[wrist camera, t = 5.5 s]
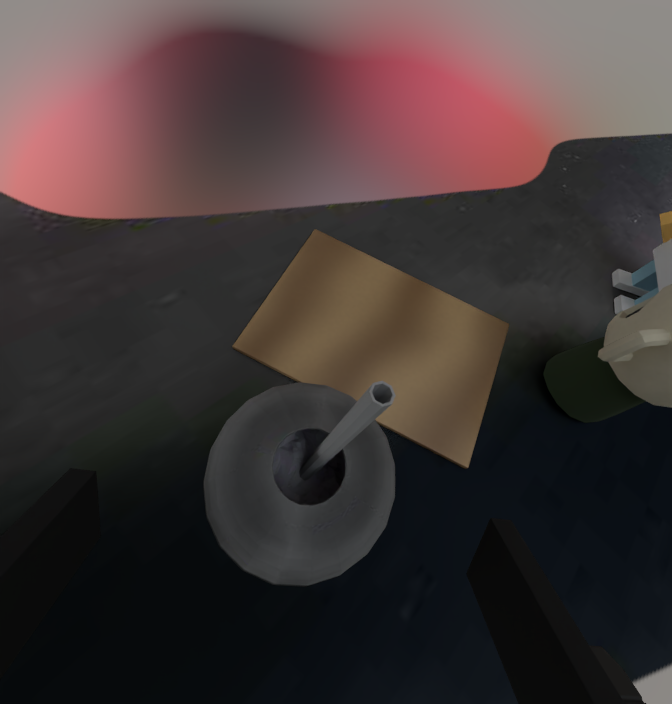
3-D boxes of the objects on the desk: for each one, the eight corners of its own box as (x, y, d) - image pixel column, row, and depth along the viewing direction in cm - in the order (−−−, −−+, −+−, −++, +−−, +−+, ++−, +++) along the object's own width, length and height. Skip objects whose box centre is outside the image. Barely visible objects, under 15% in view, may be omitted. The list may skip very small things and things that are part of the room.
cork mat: (232, 348, 27) (232, 346, 27) (314, 232, 33) (314, 228, 33) (464, 468, 26) (468, 468, 26) (506, 326, 32) (509, 324, 32)
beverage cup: (214, 482, 23) (-3, 400, 5) (299, 415, 26) (349, 209, 8) (280, 577, 22) (295, 922, 4) (364, 495, 24) (610, 464, 6)
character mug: (606, 348, 33) (787, 260, 21) (641, 422, 30) (871, 369, 19) (504, 355, 31) (642, 262, 19) (531, 436, 28) (712, 385, 16)
